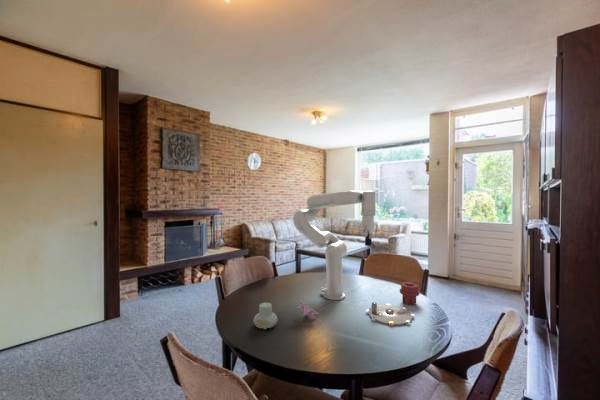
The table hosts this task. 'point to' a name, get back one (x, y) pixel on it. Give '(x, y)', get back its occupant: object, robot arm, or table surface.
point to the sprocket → (390, 314)
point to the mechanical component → (409, 293)
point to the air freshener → (265, 316)
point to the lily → (307, 310)
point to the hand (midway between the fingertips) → (368, 245)
